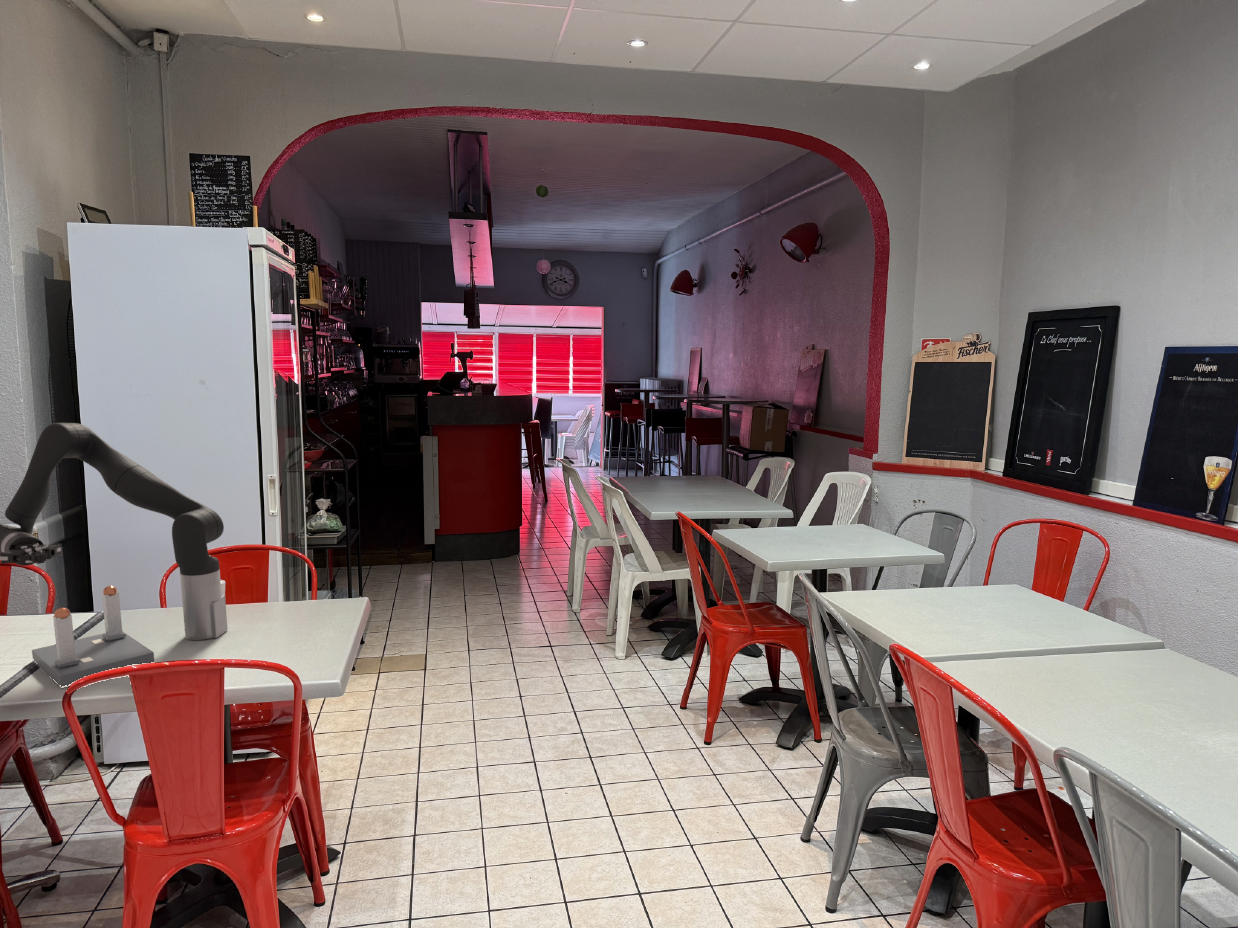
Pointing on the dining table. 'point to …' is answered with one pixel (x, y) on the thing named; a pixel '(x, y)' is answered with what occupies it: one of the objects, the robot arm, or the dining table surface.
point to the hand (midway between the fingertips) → (40, 559)
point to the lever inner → (112, 614)
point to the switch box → (93, 657)
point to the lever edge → (64, 638)
